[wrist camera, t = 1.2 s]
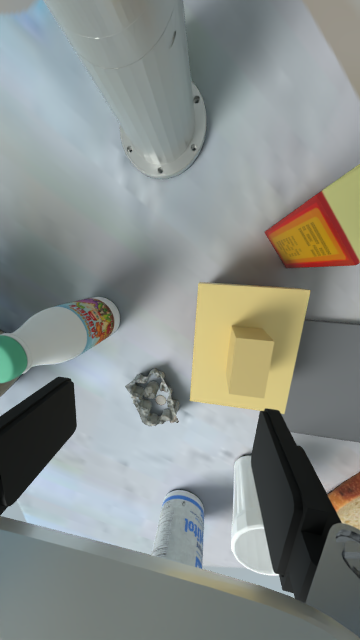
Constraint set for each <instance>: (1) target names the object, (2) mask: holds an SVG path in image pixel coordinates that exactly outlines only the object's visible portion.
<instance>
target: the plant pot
mask: <svg viewBox="0 0 360 640" xmlns="http://www.w3.org/2000/svg"><path fill="white" fill-rule="evenodd" d="M3 333H4V332H3V331H1V330H0V335H1V334H3ZM18 378H19V376H18V377H16V378H15V379H13V380H11V381H8V382H5V383H0V397H1V396H2V395H3V394H4V393H5V392H6V391H7V390H8V389H9V388H10V387H11V386H12V385H13V384H14V383H15V382H16V381H17V380H18Z"/></svg>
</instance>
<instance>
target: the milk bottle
mask: <svg viewBox="0 0 360 640" xmlns="http://www.w3.org/2000/svg"><path fill="white" fill-rule="evenodd" d="M119 324H120V314H119V311H118V309H117V307H116V306H115V305H114V304H113V303H112V302H111V301H110V300H108V299H106V298H103V297H93V298H88V299H83V300H79V301H75V302H70V303H66V304H62V305H58V306H54V307H51V308H47V309H45V310H42V311H40V312H38V313H36V314H35V315H33V316H32V317H30V318H29V319H28V320H27V321H26V322H25V323H24V324H23V325H22V326H21V327H20V328H19V329H17V330H16V331H14V332H13V333H3V334H1V335H0V383H5V382H8V381H11V380H13V379H15V378H16V377H18V376H20V375H21V374H23V373H26V372H27V371H28V370H29V369H30V368H31V367H33V366H37V365H48V364H58V363H62V362H66V361H68V360H71V359H73V358H75V357H77V356H79V355H80V354H82V353H84V352H85V351H87V350H88V349H90V348H92V347H93V346H95V345H96V344H98V343H100V342H101V341H103V340H104V339H106V338H107V337H109V336H110V335H112V334H113V333H114V332H115V331H116V330H117V329H118V327H119Z"/></svg>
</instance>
